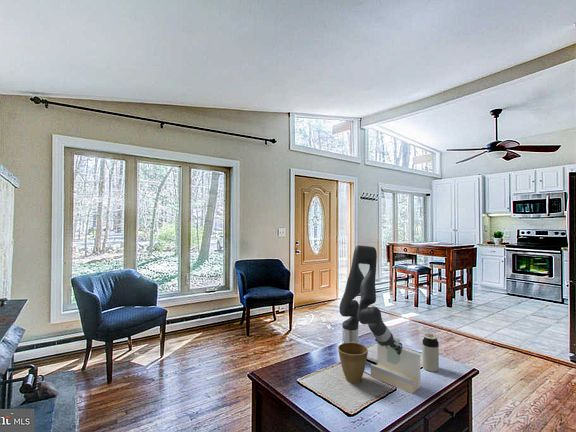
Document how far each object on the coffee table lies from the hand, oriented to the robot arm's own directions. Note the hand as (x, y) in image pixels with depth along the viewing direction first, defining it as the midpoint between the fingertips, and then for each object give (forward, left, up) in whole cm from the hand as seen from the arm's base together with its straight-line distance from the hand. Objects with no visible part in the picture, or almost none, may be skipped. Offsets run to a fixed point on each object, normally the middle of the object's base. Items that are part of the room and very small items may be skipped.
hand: (394, 351), depth 157 cm
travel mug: (+22, +14, -15) cm, 30 cm away
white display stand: (0, 0, -15) cm, 15 cm away
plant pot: (-21, -1, -15) cm, 26 cm away
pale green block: (-1, -1, -5) cm, 5 cm away
